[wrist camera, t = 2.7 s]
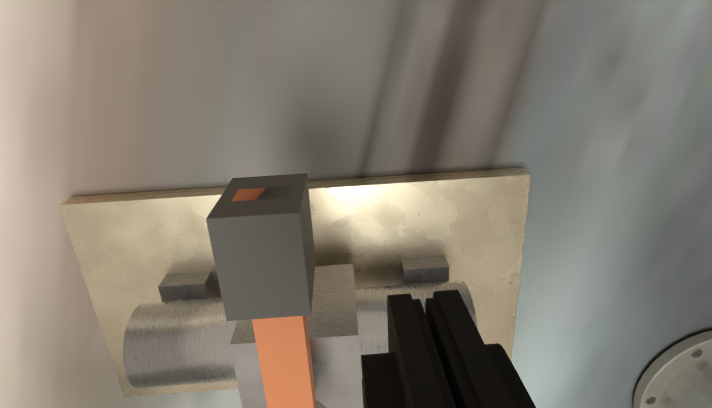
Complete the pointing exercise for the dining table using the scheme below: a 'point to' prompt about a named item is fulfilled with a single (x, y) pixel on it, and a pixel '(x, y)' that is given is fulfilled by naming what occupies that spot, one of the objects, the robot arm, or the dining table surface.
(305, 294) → the valve lever
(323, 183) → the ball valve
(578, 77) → the dining table surface
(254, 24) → the dining table surface
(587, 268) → the dining table surface
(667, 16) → the dining table surface
